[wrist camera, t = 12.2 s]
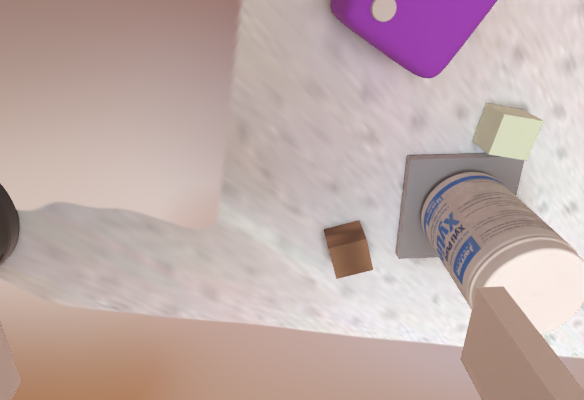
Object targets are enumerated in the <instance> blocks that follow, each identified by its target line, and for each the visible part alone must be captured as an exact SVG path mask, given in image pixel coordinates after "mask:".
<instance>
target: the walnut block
mask: <svg viewBox="0 0 584 400" xmlns="http://www.w3.org/2000/svg"><path fill="white" fill-rule="evenodd" d="M324 232H325V236H326V240H327V244H328V248H329V252H330V255H331V259H332V263H333V267H334V271H335V275H336V278H342V277H346V276H350V275H354V274H358V273H362V272H366V271H370V270H373V268H372V263H371V258H370V254H369V249H368V244H367V240H366V237H365V234H364V232H363V229H362V227H361V224H360V221H355V222H351V223H347V224H343V225H339V226H335V227H331V228H327V229H324Z"/></svg>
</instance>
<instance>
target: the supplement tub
mask: <svg viewBox="0 0 584 400" xmlns="http://www.w3.org/2000/svg"><path fill="white" fill-rule="evenodd" d="M421 223H422V228H423V231H424V233H425V235H426V236H427V238H428V240H429V242H430V243H431V245H432V246H433V248H434V249H435V251H436V253H437V254H438V256H439V258H440V259H441V261H442V262H443V264H444V266H445V267H446V269H447V270H448V272H449V274H450V275H451V277H452V278H453V280H454V282H455V283H456V285H457V287H458V288H459V290H460V291H461V293H462V295H463V296H464V298H465V300H466V301H467V303H468V304H469V306H470V308H471V309H472V308H473V304H474V300H475V295H476V291H477V287H501V286H504V288H505V289H506V290H507V292H508V293H509V294H510V296H511V297H512V298H513V299H514V301H515V302H516V303H517V305H518V306H519V307H520V308H521V310H522V311H523V312H524V314H525V315H526V316H527V317H528V319H529V320H530V321H531V323H532V324H533V325H534V326H535V328H536V329H537V330H538V332H539V333H540V334H544V333H547V332H549V331H551V330H553V329H555V328H557V327H559V326H560V325H562V324H563V323H565V322H566V321H567V320H568V319H570V318H571V317H572V316H573V315H574V314H575V313H576V312H577V311H578V309H579V308H580V307H581V305H582V304H583V302H584V261H583V260H582V259H581V258H580V257H579V256H578V254H577V252H576V251H575V250H574V249H573V248H572V247H571V246H570V245H569V244H568V243H567V242H566V241H565V240H564V239H563V238H562V237H560V236H559V235H558V234H557V233H556V232H555V231H554V230H553V229H552V228H551V227H549V226H548V225H547V224H546V223H545V222H544V221H543V220H542V219H541V218H539V217H538V216H537V215H536V214H535V213H534V212H533V211H532V210H531V209H530V208H529V207H527V206H526V205H525V204H524V203H523V202H522V201H521V200H520V199H519V198H518V197H516V196H515V195H514V194H513V193H512V192H511V191H510V190H509V189H508V188H507V187H505V186H504V185H503V184H502V183H501V182H500V181H499V180H497V179H496V178H494V177H492V176H490V175H488V174H485V173H480V172H465V173H461V174H457V175H454V176H452V177H450V178H448V179H446V180H444V181H443V182H441V183H440V184H439V185H438V186H437V187H435V188H434V189H433V191H432V192H431V193H430V194H429V196H428V197H427V199H426V201H425V203H424V205H423V209H422V214H421Z"/></svg>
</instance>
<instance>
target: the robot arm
mask: <svg viewBox="0 0 584 400" xmlns="http://www.w3.org/2000/svg"><path fill="white" fill-rule="evenodd" d="M18 235H19V221H18V215H17V212H16V209H15V206H14V204H13V202H12V200H11V198H10V196H9V195H8V193H7V192H6V190H5V189H4V188H3V186H2V185H1V184H0V266H1V265H2V263H3V262H4V261H5V260H6V259H7V258H8V256H9V255H10V254H11V253H12V251H13V249H14V248H15V245H16V243H17V240H18ZM461 361H462V363H463V365H464V367H465V369H466V370H467V372H468V374H469V376H470V378H471V380H472V382H473V384H474V386H475V387H476V389H477V391H478V393H479V395H480V397H481V399H482V400H584V390H583V388H582V387H581V386H580V384H579V383H578V382H577V381H576V379H575V378H574V377H573V375H572V374H571V373H570V372H569V370H568V369H567V368H566V366H565V365H564V364H563V363H562V361H561V360H560V359H559V357H558V356H557V355H556V354H555V352H554V351H553V350H552V348H551V347H550V346H549V344H548V343H547V342H546V341H545V339H544V338H543V337H542V335H541V334H540V333H539V332H538V330H537V329H536V328H535V326H534V325H533V324H532V323H531V321H530V320H529V319H528V317H527V316H526V315H525V314H524V312H523V311H522V310H521V308H520V307H519V306H518V305H517V303H516V302H515V301H514V299H513V298H512V297H511V296H510V294H509V293H508V292H507V290H506V289H505V288H504V286H501V287H477V291H476V295H475V300H474V304H473V308H472V313H471V317H470V321H469V326H468V330H467V334H466V338H465V343H464V347H463V351H462V356H461ZM20 383H21V380H20V377H19V374H18V371H17V368H16V365H15V362H14V359H13V356H12V354H11V351H10V348H9V345H8V342H7V339H6V336H5V334H4V331H3V328H2V325H1V322H0V400H11V399H12V397H13V395H14V394H15V392H16V390H17V388H18V387H19V385H20Z"/></svg>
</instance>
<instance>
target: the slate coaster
mask: <svg viewBox="0 0 584 400" xmlns="http://www.w3.org/2000/svg"><path fill="white" fill-rule="evenodd" d="M523 163H524V160H520V159H514V158H507V157H501V156H495V155H489V154H487V153H477V154H441V155H407V161H406V170H405V178H404V187H403V195H402V204H401V213H400V221H399V230H398V239H397V247H396V254H397V256H398V258H399V259H402V258H427V257H439V256H438V254H437V253H436V251H435V249H434V248H433V246H432V245H431V243H430V242H429V240H428V238H427V236H426V235H425V233H424V231H423V228H422V223H421V214H422V209H423V205H424V203H425V201H426V199H427V197H428V196H429V194H430V193H431V192H432V191H433V189H434V188H435V187H437V186H438V185H439V184H440V183H441V182H443V181H444V180H446V179H448V178H450V177H452V176H454V175H457V174H461V173H465V172H480V173H485V174H488V175H490V176H492V177H494V178H496V179H497V180H499V181H500V182H501V183H502V184H503V185H504V186H505V187H507V188H508V189H509V190H510V191H511V192H512V193H513V194H514V195H515V196H516V193H517V189H518V185H519V180H520V176H521V172H522V168H523Z"/></svg>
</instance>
